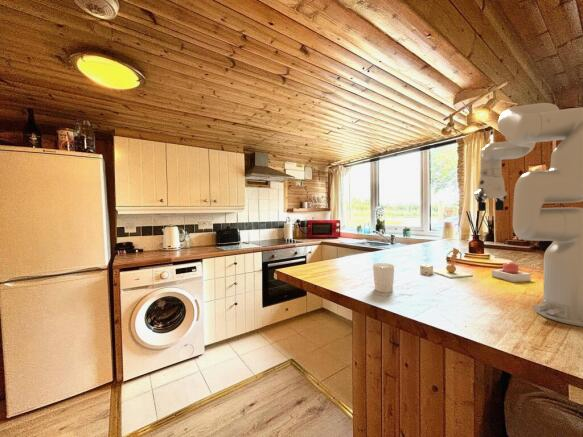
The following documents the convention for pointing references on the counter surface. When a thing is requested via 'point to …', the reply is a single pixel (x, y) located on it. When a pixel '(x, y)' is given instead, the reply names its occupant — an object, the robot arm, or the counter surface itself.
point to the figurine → (451, 267)
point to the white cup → (383, 277)
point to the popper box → (511, 276)
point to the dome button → (510, 268)
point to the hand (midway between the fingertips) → (490, 210)
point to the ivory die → (426, 269)
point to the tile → (451, 275)
